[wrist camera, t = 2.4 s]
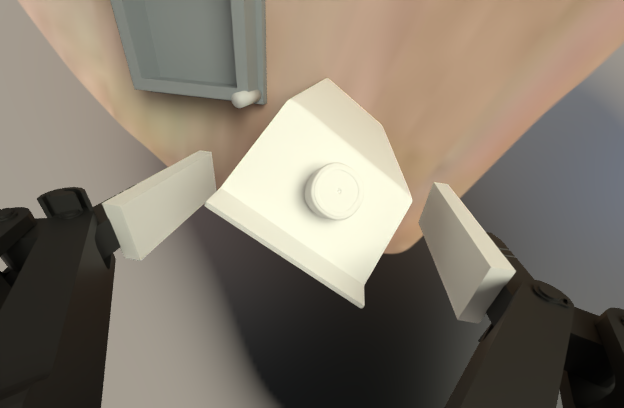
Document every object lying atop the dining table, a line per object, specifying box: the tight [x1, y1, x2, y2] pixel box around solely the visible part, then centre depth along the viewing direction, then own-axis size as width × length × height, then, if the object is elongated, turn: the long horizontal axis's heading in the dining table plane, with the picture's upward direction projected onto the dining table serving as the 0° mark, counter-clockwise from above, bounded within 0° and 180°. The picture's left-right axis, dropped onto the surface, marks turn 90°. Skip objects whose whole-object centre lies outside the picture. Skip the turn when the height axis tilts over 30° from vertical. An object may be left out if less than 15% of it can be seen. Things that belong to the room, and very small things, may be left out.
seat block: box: [110, 0, 267, 108], centre depth 20 cm, size 12×12×5 cm
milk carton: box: [205, 78, 412, 308], centre depth 17 cm, size 7×7×19 cm
